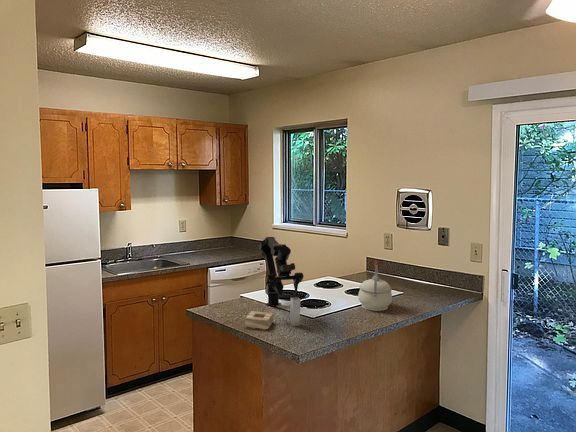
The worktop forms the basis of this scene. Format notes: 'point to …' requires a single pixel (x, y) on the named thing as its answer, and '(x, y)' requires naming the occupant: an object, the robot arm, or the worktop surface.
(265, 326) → the socket block
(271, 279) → the robot arm
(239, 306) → the worktop surface
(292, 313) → the square bit
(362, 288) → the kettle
